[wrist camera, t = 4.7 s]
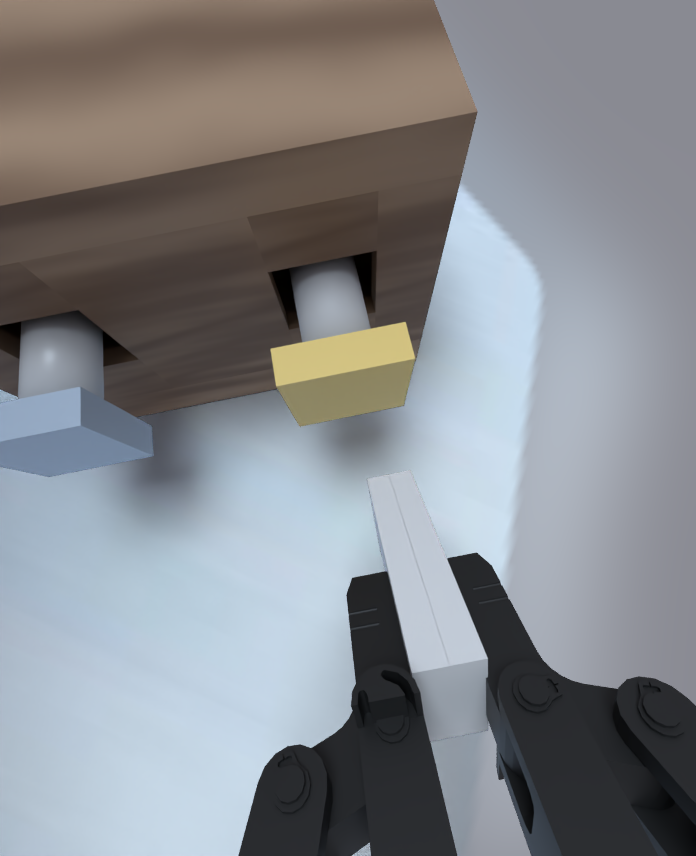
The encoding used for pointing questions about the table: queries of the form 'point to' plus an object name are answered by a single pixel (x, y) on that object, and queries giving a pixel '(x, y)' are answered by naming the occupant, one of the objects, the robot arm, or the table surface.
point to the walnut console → (219, 176)
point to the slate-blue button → (66, 403)
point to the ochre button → (340, 349)
